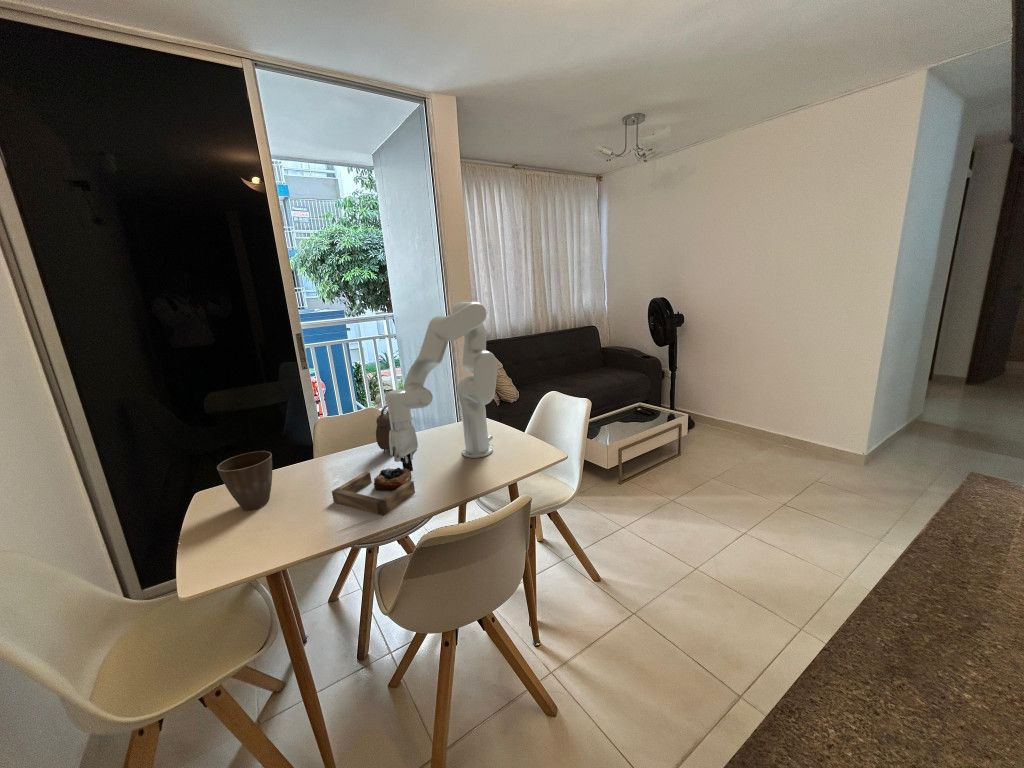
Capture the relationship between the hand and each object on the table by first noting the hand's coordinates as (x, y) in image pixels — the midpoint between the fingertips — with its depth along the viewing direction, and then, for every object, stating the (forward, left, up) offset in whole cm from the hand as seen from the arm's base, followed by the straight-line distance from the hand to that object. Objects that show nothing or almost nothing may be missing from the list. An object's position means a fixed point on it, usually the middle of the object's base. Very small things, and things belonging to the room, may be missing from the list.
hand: (408, 471), depth 143 cm
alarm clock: (-16, -22, -2) cm, 27 cm away
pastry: (+7, 0, -2) cm, 7 cm away
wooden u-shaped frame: (+16, 0, -1) cm, 17 cm away
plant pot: (+34, -36, -2) cm, 50 cm away
